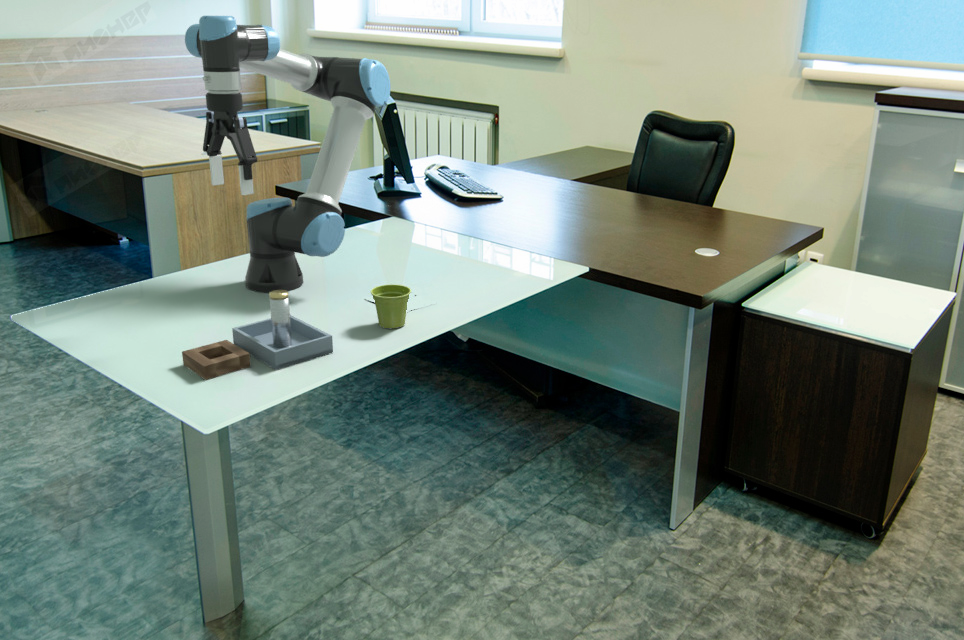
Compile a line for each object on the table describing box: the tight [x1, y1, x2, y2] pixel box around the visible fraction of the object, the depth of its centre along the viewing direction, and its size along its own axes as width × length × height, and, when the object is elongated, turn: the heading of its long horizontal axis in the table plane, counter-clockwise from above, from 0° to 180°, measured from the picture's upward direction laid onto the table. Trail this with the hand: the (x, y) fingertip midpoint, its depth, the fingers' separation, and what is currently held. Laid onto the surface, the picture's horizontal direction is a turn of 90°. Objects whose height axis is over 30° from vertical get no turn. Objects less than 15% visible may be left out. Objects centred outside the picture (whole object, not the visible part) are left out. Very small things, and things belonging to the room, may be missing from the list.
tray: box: [231, 314, 334, 371], centre depth 179 cm, size 14×18×4 cm
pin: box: [268, 290, 292, 348], centre depth 177 cm, size 4×4×12 cm
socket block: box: [181, 339, 252, 381], centre depth 170 cm, size 10×10×3 cm
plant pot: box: [370, 283, 412, 329], centre depth 193 cm, size 9×9×9 cm
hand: (232, 189), depth 184 cm, fingers open, 13 cm apart
